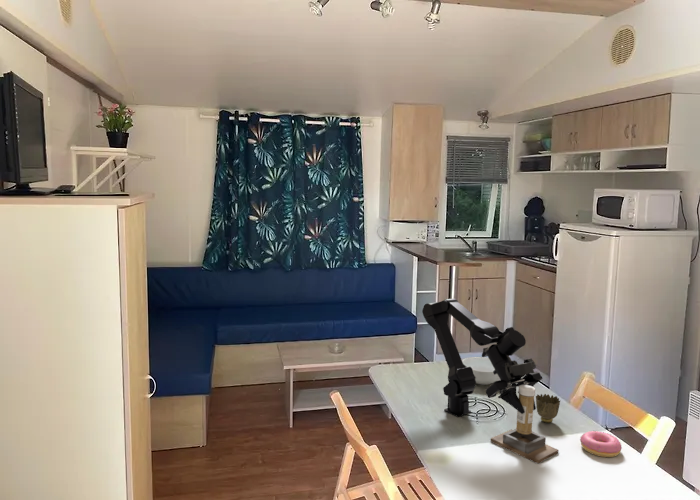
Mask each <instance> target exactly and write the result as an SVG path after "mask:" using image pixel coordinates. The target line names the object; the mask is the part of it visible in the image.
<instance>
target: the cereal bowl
mask: <svg viewBox="0 0 700 500" xmlns="http://www.w3.org/2000/svg"><path fill="white" fill-rule="evenodd" d="M461 360H462V362H463V364H464V365H465V366H466V367H471V368H472V370H473V374H474V376H475V377H476V378H475V380H476V385H482V386H485V385H486V386H487V385H488V386H489V385H491V384H492V383H493V382H495V381H499V380H500V378H499V376H498V374H495V375H494V373H493V371H494V370H495V369H494V367H493V365H492V363H491V361H490V360H489V358H488V357H482V356H481V357H480V356H476V357H475V356H473V357H472V356H471V357H466V358H463V359H461Z"/></svg>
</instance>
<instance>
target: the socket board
mask: <svg viewBox="0 0 700 500" xmlns="http://www.w3.org/2000/svg"><path fill="white" fill-rule="evenodd" d="M546 439H547V437H546V436H544V435H541V434H539V433H537V432H534V431H532V433H531V434H527V435H526V434H521V433H519V432H517V431H516V428H515V429H509V430H507V431H505V432H502V433H500V434H497V435H495V436H492V437H490V442H491V443H493V444H496V445H497V446H499V447H502V448H504V449H506V450H508V451H511V452H513V453H515V454H516V455H519V456H521V457H523V458H524V459H527V460H530V461H532V462H533V463H536V464H540V463H543V462H544V461H545V460H548V459H550V458H551V457H554V456H556V455H558V454H559V449H557V448H555V447H554V446H551V445H548V444H547V443H546V442H547V441H546Z"/></svg>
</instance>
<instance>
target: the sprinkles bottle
mask: <svg viewBox="0 0 700 500" xmlns="http://www.w3.org/2000/svg"><path fill="white" fill-rule="evenodd" d="M518 392H519V393H518ZM517 393H518V398H519V400H520V402H521V404H522V406H523V409H524V411H525V413H523V414H521V413H520V412H519V411H518V410H516V413H517V414H516V427H515V429H516V431H517V432H519V433H521V434H526V435H527V434H531V433H532V432H533V431H532V429H533V419H534V417H533V416H534V411H533V404H534V401H535V397H536V388H535V386H534V387H532V386H529V385H520V386H519V387H518V391H517Z"/></svg>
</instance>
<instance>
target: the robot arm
mask: <svg viewBox="0 0 700 500" xmlns="http://www.w3.org/2000/svg"><path fill="white" fill-rule="evenodd" d="M421 313H422V315H423V318H424V320H425V321H426V323H427V324H428V325H429V326H430V327H431V328H432V329H433V330H434V332H435V335H436V337H437V340H438V343H439V345H440V348H441V351H442V353H443V356H444V358H445V362H446V364H447V366H448V373H447V374H448V375H447V379H448V380H447V381H448V383H447V384H445V386H443V388H442V390H443V394H444V395H445V396H446V397H447V407H446V408H444V412H446V413H449V414H451V415H452V416H455V417H458V418H460V417H463V416H465V415H467V414H470V413H472V412H471V410H470V408H469V407H470V401H469V395H472V394H474V390H475V389H476V385H477V384H476V380H475V378H476V377H475V376H474V374H473V370H472V368H471V367H466V366H465V365H464V364H463V362H462V360H463V359H462V358H461V355H460V352H459V350H458V348H457V345H456V341H455V339H454V336H453V335H452V332H451V329H450V326H449V320H450V316H451V317H452V318H453V319H455V320H456V321H457V322H459V323H460V324H461V325H462V326H463V327H464V328H466V330H468V331H469V334H470V335H469V336H470V337H471V339H472V340H473V341H474V342H475V343H476V344H477V345H478V346H479V347H480V346H481V347H482V346H487V345H488V347H484V348H483V349H482V352H481V357H483V358H489V360H490V361H491V363H492V365H493V367H494V369H495V370H494V371H493V373H494V375H495V374H498V376H499V378H500V380H499V381H495V382H493V383H491V384H489V385H488V386H487V387H486V388H485V394H486V396H487V398H488V399H491V398H495V397H497V398H498V399H501V400H503V401H504V402H505V403H507V404H509V405H510V406H511V407H513V408H514V409H515V410H516V411H517V410H518V411H519V412H520V413H521V414H523V413H525V411H524V409H523V406H522V404H521V402H520V400H519V395H517V394H519V392H518V391H517V388H519V386H520V385H529V386H532V387H534V388H535V385H536V384H538V383H539V382H541V381H542V380H543V376H542V374H541V373H540V372H538V371H534V370H535V369H536V367H537V365H536V363H535V361H534V360H533V359H532V358H527V359H524V360H523V363H518V362H517V360H512V358H511V357H510V356H513V355H514V354H516V353H517V352H518V351H519V350H521V349H522V348H523V347H524V346H526V341H527V340H526V338H525V336H524V335H523V334H522V333H521V332H520V331H519V330H515V328H514V327H513V326H510V327H507V328H506V329H505V330H504V331H502V330H500V329H499V327H497V326H496V325H494V324H493V323H491V322H489V321H485V320H482V319H480V318H478V317H477V316H476V315H475V314H474V313H472V312H471V311H470V310H468V309H467V308H466V307H465V306H464V305H462V304H461V303H460V302H459V301H458V300H457V298H447V299H444V300H441V301H437V302H435V301H434V302H429V303H428V302H427V303H426V304H424V306H423V308H422V312H421ZM498 392H499V396H497V395H498V394H497V393H498ZM536 410H537V407H536V400H534V404H533V412H534V411H536Z"/></svg>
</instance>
